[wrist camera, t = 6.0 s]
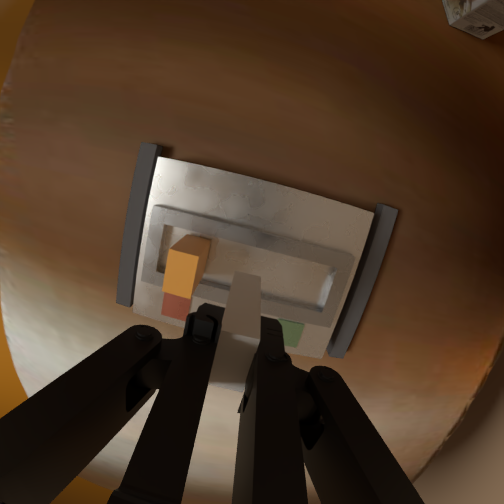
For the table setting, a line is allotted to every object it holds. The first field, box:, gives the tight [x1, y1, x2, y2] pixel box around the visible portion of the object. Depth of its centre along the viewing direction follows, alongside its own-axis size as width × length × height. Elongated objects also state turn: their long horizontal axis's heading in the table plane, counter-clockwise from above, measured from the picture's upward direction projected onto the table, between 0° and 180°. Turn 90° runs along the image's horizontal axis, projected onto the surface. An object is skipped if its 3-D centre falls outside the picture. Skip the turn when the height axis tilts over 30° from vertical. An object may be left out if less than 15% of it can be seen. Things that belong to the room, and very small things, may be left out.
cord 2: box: [326, 203, 398, 359], centre depth 28 cm, size 16×2×2 cm, turn 166°
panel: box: [133, 157, 374, 359], centre depth 26 cm, size 14×18×5 cm
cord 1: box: [116, 142, 163, 307], centre depth 27 cm, size 16×2×2 cm, turn 166°
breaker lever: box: [162, 234, 211, 299], centre depth 22 cm, size 3×2×5 cm, turn 166°
